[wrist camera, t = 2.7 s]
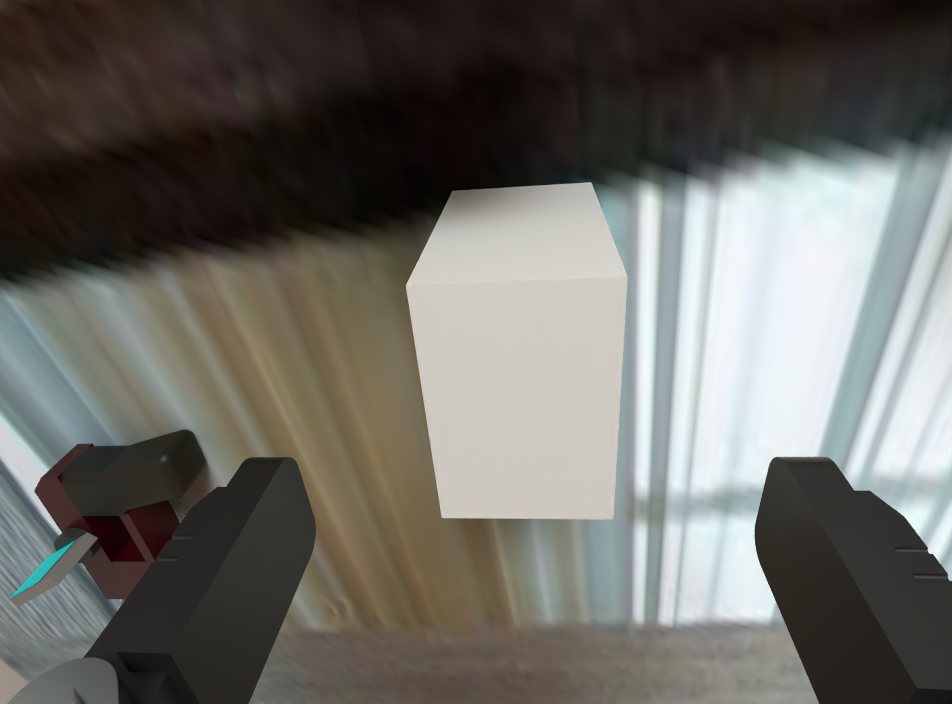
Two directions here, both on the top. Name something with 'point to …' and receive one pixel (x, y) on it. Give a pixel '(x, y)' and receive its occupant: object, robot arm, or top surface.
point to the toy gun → (113, 510)
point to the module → (521, 352)
